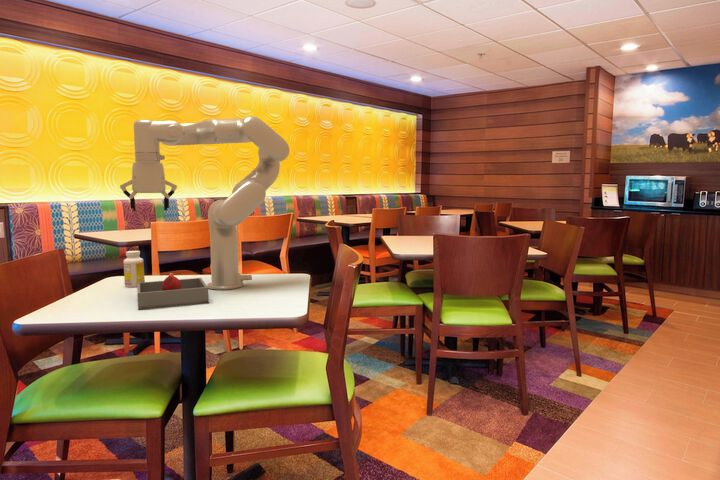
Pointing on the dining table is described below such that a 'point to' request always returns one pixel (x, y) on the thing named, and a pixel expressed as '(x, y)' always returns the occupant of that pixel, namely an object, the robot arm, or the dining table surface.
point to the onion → (171, 283)
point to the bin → (172, 294)
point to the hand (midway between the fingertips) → (150, 210)
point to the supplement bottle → (133, 269)
